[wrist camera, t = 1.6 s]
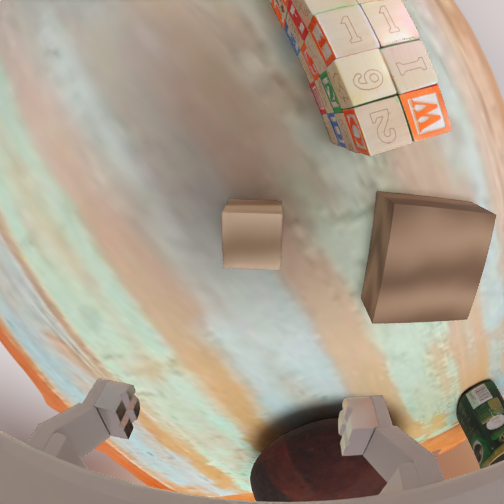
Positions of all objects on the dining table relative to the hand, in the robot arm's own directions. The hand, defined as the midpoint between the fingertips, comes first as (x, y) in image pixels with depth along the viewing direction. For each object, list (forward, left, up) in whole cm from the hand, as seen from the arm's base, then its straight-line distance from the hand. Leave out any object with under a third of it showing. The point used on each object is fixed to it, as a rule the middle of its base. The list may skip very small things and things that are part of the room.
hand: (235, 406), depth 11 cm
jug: (+36, +12, -23) cm, 44 cm away
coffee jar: (+29, +38, -23) cm, 53 cm away
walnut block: (+2, +17, -22) cm, 28 cm away
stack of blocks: (-19, +5, -23) cm, 30 cm away
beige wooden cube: (0, -1, -22) cm, 22 cm away
